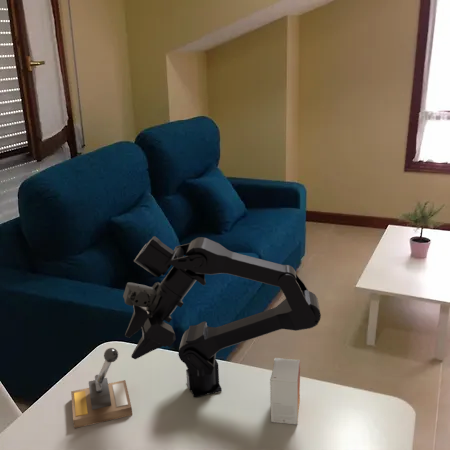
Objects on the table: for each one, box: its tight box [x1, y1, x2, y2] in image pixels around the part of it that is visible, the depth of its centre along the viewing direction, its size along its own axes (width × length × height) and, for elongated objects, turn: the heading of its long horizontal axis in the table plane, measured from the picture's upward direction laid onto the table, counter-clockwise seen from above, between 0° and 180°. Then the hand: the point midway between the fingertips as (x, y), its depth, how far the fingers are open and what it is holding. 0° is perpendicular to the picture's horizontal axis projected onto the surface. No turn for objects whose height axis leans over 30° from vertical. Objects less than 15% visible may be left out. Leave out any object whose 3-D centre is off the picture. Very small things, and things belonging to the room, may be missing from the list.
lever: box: [94, 347, 119, 393], centre depth 115 cm, size 3×5×9 cm, turn 18°
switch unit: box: [70, 377, 133, 429], centre depth 117 cm, size 12×10×5 cm
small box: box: [269, 357, 301, 425], centre depth 112 cm, size 8×6×10 cm
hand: (129, 346), depth 115 cm, fingers open, 9 cm apart
